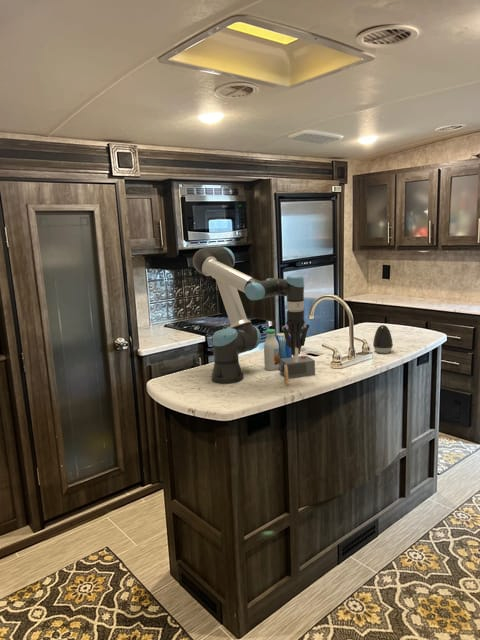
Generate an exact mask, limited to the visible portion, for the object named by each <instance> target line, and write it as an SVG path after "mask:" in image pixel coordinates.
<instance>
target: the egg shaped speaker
mask: <svg viewBox="0 0 480 640" xmlns="http://www.w3.org/2000/svg"><path fill="white" fill-rule="evenodd" d="M393 344H394V343H393V338H392V334H391V331H390V329H389V327H388V326H387V325H385V324H381V325H379V326H378V327H377V329H376V331H375V334H374V338H373V343H372V346H373V349H374V350H375V352H377V353H379V354H388V353H390V352H391V351H392V349H393Z"/></svg>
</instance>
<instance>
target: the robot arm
mask: <svg viewBox="0 0 480 640" xmlns="http://www.w3.org/2000/svg"><path fill="white" fill-rule="evenodd" d="M235 258H236V257H235V255H234V253H233V252H232V250H231V249H230V248H228V247H225V246H216V247H205V248H204V247H203V248H200V249H199V250H197V251H196V252H195V253H194V255H193V257H192V265H193V267H194V269H195V270H196V271H197V272H198V273H199V274H201V275H204V276H206V277H210V276H211V278H212V279H214V280H215V281H216V285H217V287H218V291H219V293H220V296H221V300H222V302H223V306H224V309H225V311H226V314H227V317H228V321H229V323H230V326H229V328H223V329H220V330H217V331H215V332H214V333H213V335H212V347H213V349H212V350H213V360H214V361H213V363H214V364H213V368H212V371H211V372H212V373H211V381H212V382H214V383H216V384H233V383H238V382H240V381H242V380H243V379H244V373H243V372H244V371H243V369H242V367H241V364H240V362H239V358H240V357H239V355H241V354H243V353H247V352H250V351H253V350H254V349H256V348H258V347H259V345H260V343H261V340H262V339H261V337H262V336H261V332H260V329H259V328H258V327H256V326H255V325H253V323H252V320H250V319H248V317H247V314H246V312H245V308H244V306H243V302H242V300H241V297H240V294H239V291H240V292H242V293H244V295H245V296H246V297H247V299H249V301H260V300H262V299H267V298H273V297H276V296H278V297H279V296H280V297H282V296H283V297H286V310H287V311H286V323H285V325H282V326H281V330H282V331H283V333H284V335H285V339H286V343H287V346H288V347H290V348H291V354H292V357H293V361H294V362H295V363H296V362H298V357H299V355H301V348H302V347H305V342H306V339H307V333H308V330H309V328H310V325H309V324H307V323H305V320H304V319H305V311H304V309H305V298H304V297H305V281H304V276H303V275H301V274H288V275H287V276H286V278H276V277H271V278H270V277H269V278H266V279H265V280H258V279H256V278H254V277H252V276H250V275H248V274H245V273H244V272H241V271H240V270H237V269H235V268H234V266H235V261H236V259H235ZM288 328H289V329H290V333H291V335H290V337H291V341H290V337H289V333H288ZM301 329H302V333H301ZM295 333H296V347H295Z"/></svg>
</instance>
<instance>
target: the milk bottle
mask: <svg viewBox="0 0 480 640" xmlns="http://www.w3.org/2000/svg"><path fill="white" fill-rule="evenodd" d="M265 334H266V338H265V341H264V345H263V358H264V359H263V361H264V369H265V370H266V371H267V370H268V371H276V370H279V362H280V355H279V344H278V341H277V339H276V329H273V328H269V329H266V333H265Z"/></svg>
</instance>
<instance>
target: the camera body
mask: <svg viewBox="0 0 480 640" xmlns="http://www.w3.org/2000/svg"><path fill="white" fill-rule="evenodd" d="M315 362H316V361H315V360H314V359H313V358H312V357H310V356H308V355H300V356H299V355H298V362H296V363H295V362H294V361H293V356H292V357H291V358H282V359H280V362H279V369H278V371H279V372H280V373H281V374H282V376H284V364H287V369H288V379H291V378H293V379H294V378H301V377H309V376H315V375H316V363H315Z"/></svg>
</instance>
